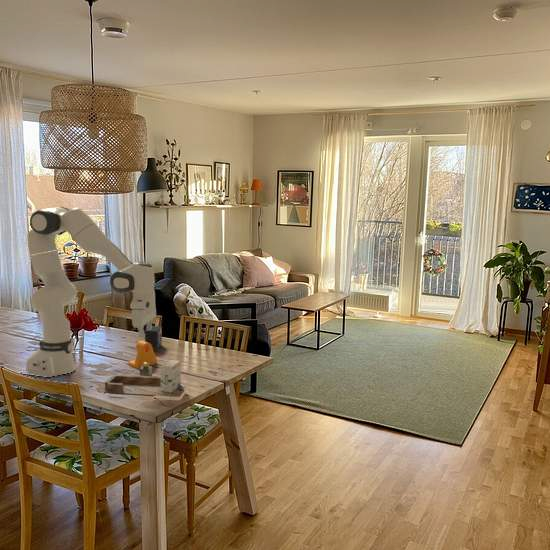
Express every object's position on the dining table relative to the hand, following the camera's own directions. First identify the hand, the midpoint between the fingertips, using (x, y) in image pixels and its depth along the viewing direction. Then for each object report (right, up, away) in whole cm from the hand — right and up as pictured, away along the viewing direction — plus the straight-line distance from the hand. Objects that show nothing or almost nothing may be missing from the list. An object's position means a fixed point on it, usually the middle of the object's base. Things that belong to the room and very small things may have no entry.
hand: (145, 332), depth 231 cm
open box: (-3, -22, -10) cm, 24 cm away
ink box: (+13, -23, -10) cm, 28 cm away
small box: (-7, -13, +48) cm, 51 cm away
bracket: (-6, -18, +19) cm, 27 cm away
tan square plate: (0, -20, +3) cm, 20 cm away
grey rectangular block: (0, -19, +3) cm, 19 cm away
